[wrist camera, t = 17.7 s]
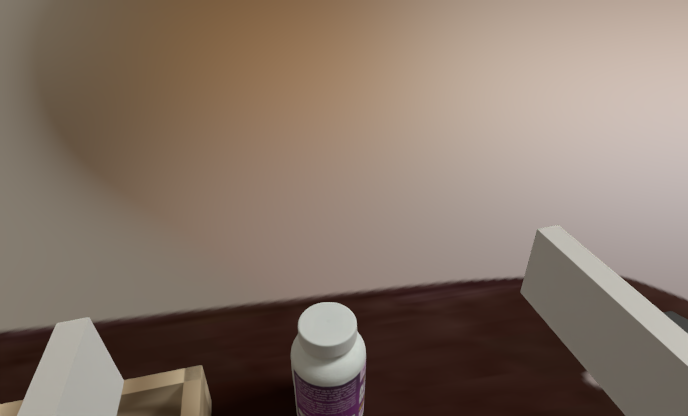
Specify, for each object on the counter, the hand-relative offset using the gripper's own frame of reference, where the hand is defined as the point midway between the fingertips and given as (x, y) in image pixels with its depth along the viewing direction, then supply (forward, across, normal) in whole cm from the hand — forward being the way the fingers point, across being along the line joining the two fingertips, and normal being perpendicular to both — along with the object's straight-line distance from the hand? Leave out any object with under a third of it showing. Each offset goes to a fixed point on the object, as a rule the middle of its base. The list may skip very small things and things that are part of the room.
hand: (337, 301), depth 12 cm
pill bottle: (+10, +1, -22) cm, 24 cm away
